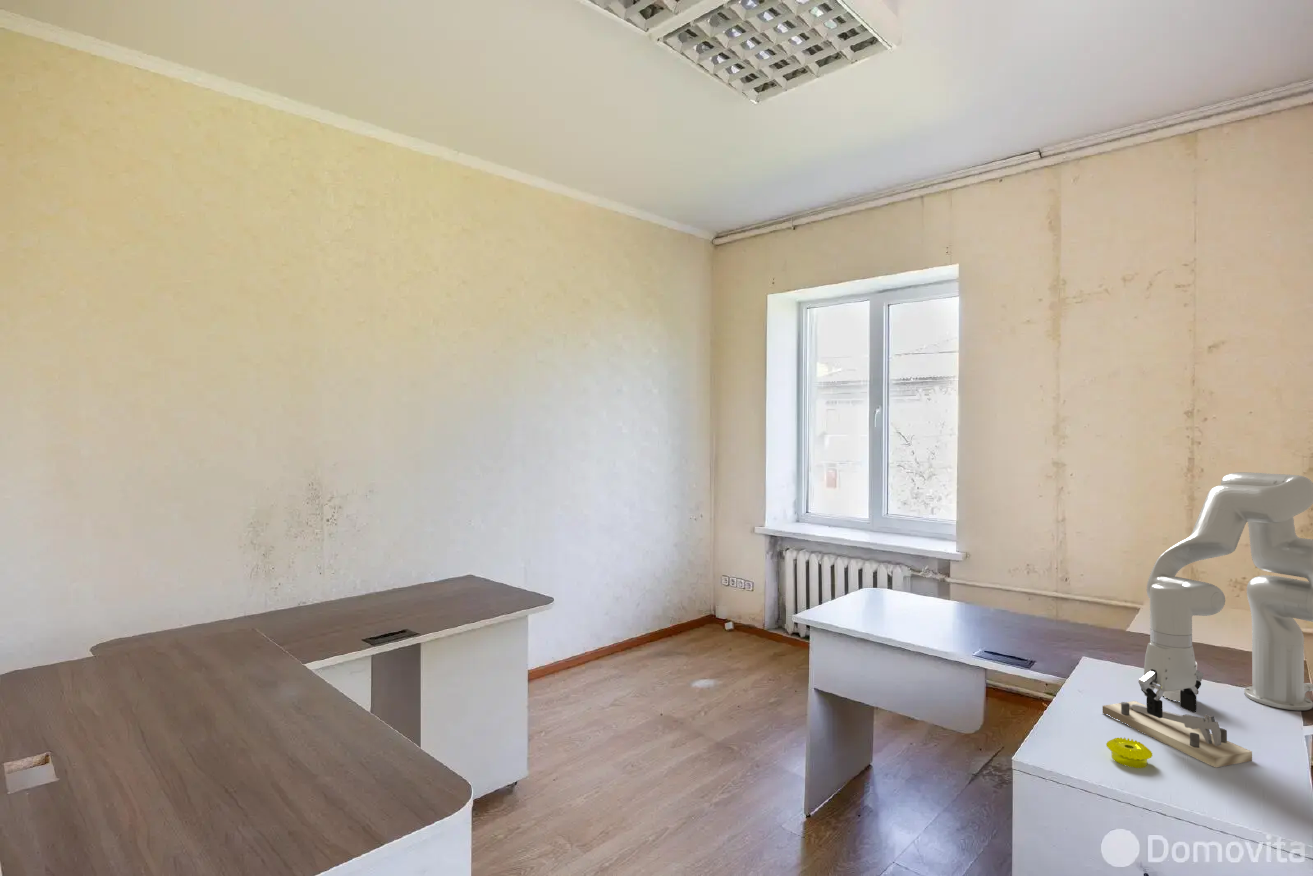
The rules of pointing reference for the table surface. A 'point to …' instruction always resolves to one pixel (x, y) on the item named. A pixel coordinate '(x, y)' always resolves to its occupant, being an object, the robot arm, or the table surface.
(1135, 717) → the tool rest
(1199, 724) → the caliper
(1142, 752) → the gear
